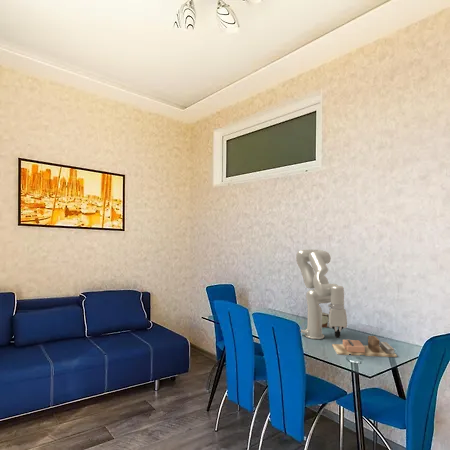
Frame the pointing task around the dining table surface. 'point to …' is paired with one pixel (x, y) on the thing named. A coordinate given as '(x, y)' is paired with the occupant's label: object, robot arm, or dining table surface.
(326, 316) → the food container
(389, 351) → the vise
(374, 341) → the walnut block
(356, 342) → the block
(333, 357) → the dining table surface
